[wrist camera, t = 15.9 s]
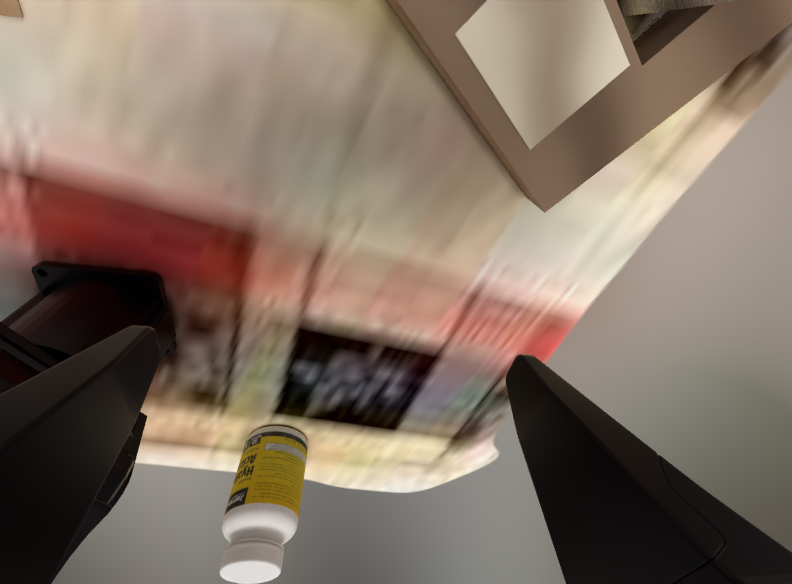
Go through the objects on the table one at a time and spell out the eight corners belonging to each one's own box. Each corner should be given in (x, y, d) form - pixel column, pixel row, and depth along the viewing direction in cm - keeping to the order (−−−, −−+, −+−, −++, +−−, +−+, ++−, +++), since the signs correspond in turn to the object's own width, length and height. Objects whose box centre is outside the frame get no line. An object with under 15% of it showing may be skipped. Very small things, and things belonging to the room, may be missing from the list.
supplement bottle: (256, 417, 30) (219, 553, 22) (317, 431, 32) (304, 561, 23) (238, 452, 32) (199, 586, 24) (296, 463, 34) (277, 590, 26)
